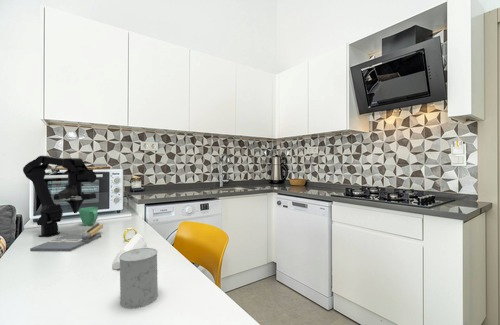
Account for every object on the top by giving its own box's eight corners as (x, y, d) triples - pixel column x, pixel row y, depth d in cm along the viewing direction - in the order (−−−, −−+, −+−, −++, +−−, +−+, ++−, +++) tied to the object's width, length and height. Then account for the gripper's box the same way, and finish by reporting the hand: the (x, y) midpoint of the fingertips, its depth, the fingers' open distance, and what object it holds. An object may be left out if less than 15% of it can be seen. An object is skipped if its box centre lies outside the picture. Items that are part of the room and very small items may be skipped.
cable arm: (95, 228, 133) (95, 222, 133) (102, 228, 134) (102, 222, 134) (80, 239, 114) (80, 232, 114) (88, 238, 115) (88, 232, 115)
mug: (76, 225, 150) (75, 208, 150) (93, 222, 158) (93, 206, 158) (87, 228, 142) (86, 211, 142) (105, 225, 150) (104, 208, 150)
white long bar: (138, 259, 87) (152, 238, 111) (118, 250, 86) (137, 231, 110) (127, 278, 86) (143, 253, 110) (107, 269, 85) (128, 246, 109)
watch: (125, 243, 117) (124, 230, 117) (123, 241, 119) (121, 229, 119) (138, 239, 122) (137, 227, 121) (135, 237, 123) (134, 226, 123)
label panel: (30, 251, 107) (30, 245, 107) (66, 236, 127) (66, 232, 127) (72, 251, 106) (72, 245, 106) (102, 237, 126) (102, 232, 126)
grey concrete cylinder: (162, 288, 74) (161, 247, 74) (151, 308, 64) (150, 260, 64) (129, 290, 73) (129, 248, 73) (113, 309, 64) (112, 261, 64)
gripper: (43, 184, 120) (44, 216, 120) (80, 183, 119) (81, 216, 119) (62, 182, 131) (62, 211, 131) (96, 181, 130) (97, 211, 130)
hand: (75, 213), depth 128 cm, fingers closed
